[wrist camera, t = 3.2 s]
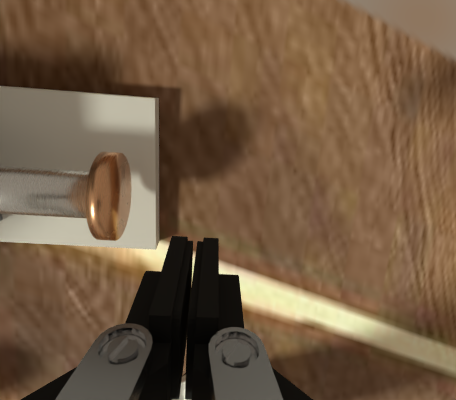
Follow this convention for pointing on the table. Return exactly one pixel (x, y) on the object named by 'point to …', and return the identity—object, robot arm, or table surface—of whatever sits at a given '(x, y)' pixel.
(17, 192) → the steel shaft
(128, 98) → the bearing board
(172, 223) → the table surface
